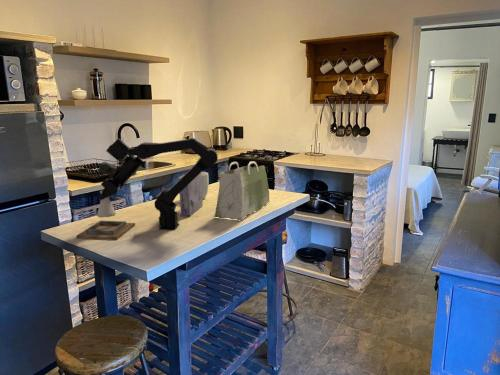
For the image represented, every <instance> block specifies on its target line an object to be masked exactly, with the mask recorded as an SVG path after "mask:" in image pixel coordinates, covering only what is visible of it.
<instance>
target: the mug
mask: <svg viewBox="0 0 500 375" xmlns="http://www.w3.org/2000/svg"><path fill="white" fill-rule="evenodd" d="M201 183H202V199H205V198H206V196H207V195H208V193H209V186H210V185H209V172H206V171H202V172H201Z"/></svg>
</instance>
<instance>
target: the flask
mask: <svg viewBox="0 0 500 375" xmlns="http://www.w3.org/2000/svg"><path fill="white" fill-rule="evenodd" d="M103 190H104V189H103ZM103 190H100V191H99V193H100V195H101V194H102V192H103ZM116 214H117V213H116V211H115V208H114V206H113V204H112V202H111V200H110V196H109V197H107V198H104V199H102V200H101V199H100V203H99V207H98V210H97V214H96V217H98V218H110V217H114V216H116Z"/></svg>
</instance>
